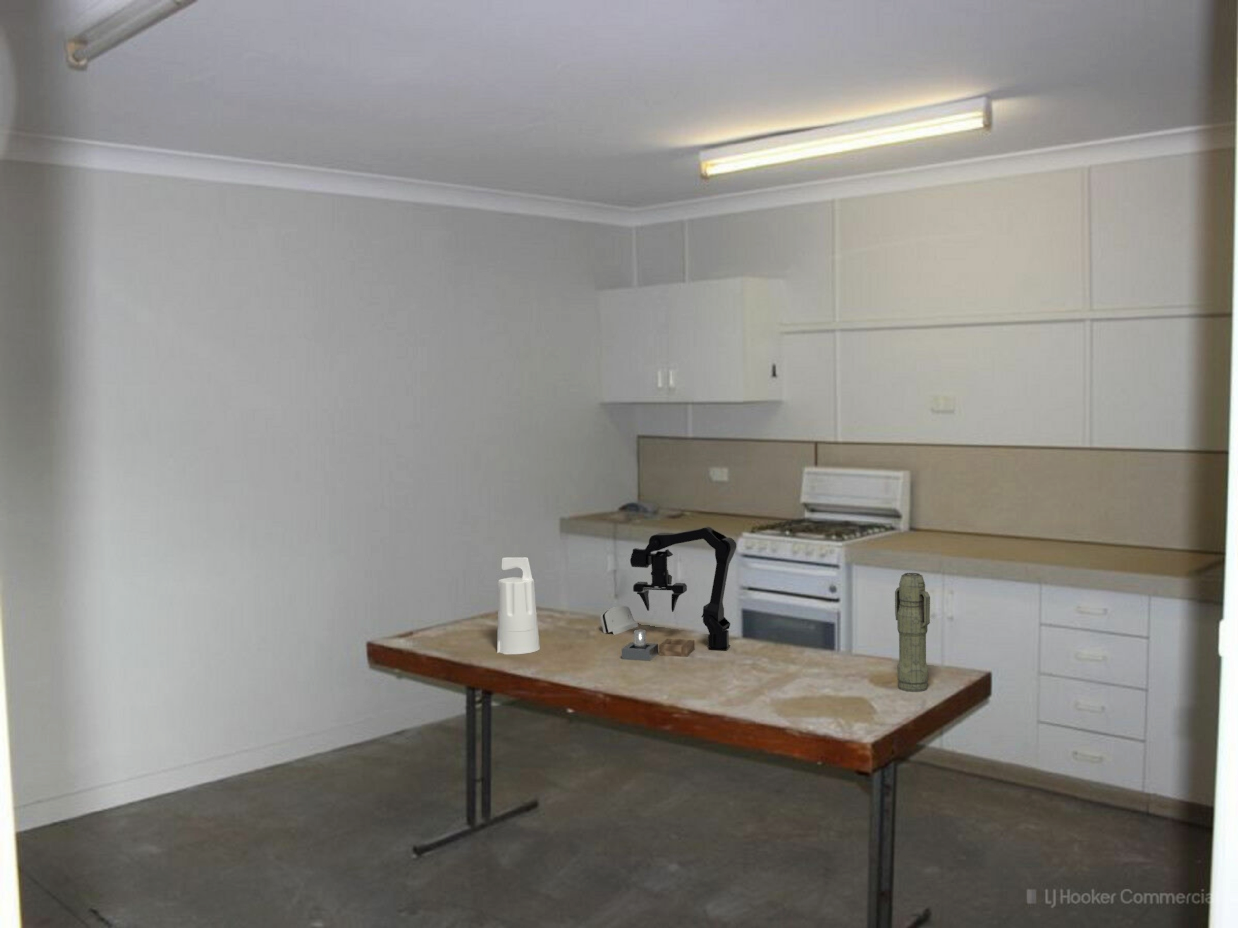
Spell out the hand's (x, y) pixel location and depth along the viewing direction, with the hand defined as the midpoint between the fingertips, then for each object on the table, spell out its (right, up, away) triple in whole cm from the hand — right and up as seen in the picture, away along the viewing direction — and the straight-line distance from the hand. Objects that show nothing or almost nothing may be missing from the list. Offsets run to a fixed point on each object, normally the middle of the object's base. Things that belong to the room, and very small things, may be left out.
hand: (660, 611), depth 404 cm
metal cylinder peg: (-8, -14, -16) cm, 22 cm away
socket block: (+5, -13, -12) cm, 19 cm away
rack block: (-8, -14, -16) cm, 22 cm away
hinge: (-15, -11, +26) cm, 32 cm away
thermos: (+75, -15, -63) cm, 99 cm away
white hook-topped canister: (-51, -14, -2) cm, 53 cm away
